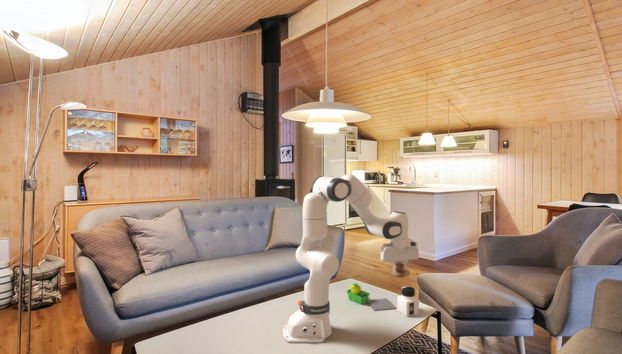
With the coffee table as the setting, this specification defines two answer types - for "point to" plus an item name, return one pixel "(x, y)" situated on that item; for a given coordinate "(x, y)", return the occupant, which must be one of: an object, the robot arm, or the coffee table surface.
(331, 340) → the coffee table surface
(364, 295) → the fruit basket
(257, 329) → the coffee table surface
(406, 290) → the container
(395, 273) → the lid
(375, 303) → the mat
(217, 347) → the coffee table surface
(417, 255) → the robot arm
